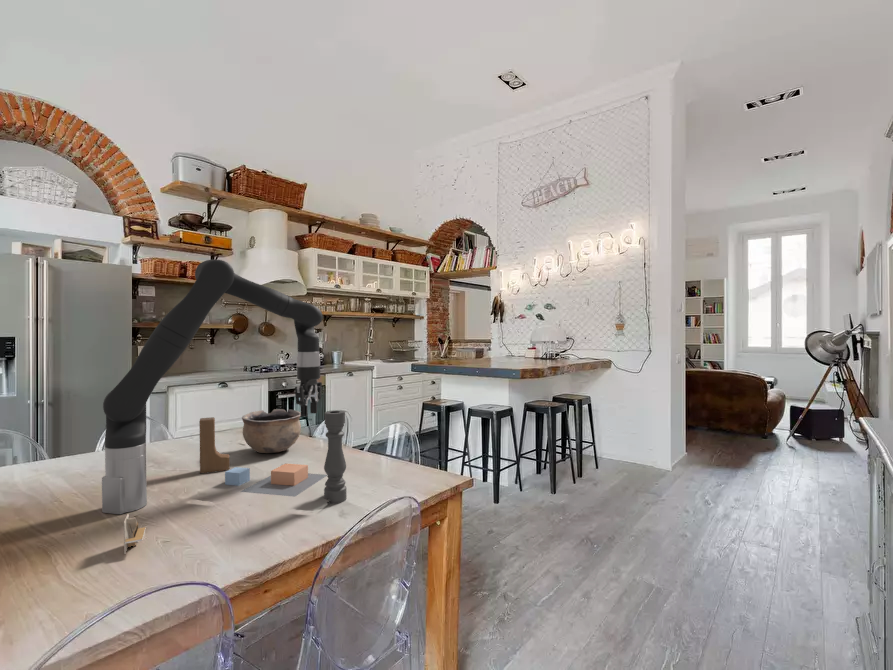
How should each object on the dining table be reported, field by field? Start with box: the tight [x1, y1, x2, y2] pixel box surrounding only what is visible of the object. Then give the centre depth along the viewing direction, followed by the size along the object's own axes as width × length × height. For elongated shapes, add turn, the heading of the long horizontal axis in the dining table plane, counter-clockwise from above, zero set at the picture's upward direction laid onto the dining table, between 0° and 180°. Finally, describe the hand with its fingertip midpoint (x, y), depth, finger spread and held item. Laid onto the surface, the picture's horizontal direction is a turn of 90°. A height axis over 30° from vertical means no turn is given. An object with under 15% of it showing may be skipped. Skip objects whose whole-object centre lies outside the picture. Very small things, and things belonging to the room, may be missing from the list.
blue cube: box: [224, 466, 251, 487], centre depth 145 cm, size 5×5×5 cm
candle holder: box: [323, 409, 348, 505], centre depth 133 cm, size 6×6×25 cm
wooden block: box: [199, 417, 231, 474], centre depth 160 cm, size 9×4×18 cm, turn 115°
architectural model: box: [123, 513, 147, 554], centre depth 104 cm, size 3×7×7 cm, turn 27°
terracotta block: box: [270, 463, 309, 486], centre depth 146 cm, size 8×8×4 cm
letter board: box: [240, 472, 328, 497], centre depth 144 cm, size 20×18×1 cm
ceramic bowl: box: [241, 408, 302, 454], centre depth 185 cm, size 22×22×15 cm
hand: (309, 414), depth 158 cm, fingers open, 5 cm apart
